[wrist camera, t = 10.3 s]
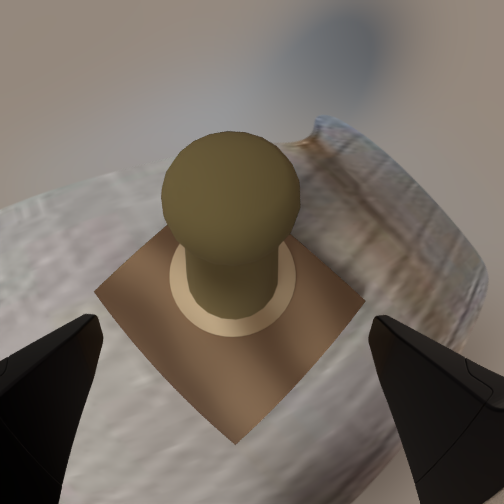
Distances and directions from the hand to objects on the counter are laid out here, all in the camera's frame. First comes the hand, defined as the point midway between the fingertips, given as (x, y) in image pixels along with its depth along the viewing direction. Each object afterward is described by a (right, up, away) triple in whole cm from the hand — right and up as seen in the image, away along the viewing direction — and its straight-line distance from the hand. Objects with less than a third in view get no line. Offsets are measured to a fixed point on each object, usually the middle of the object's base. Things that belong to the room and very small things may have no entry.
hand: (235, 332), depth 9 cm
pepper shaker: (-1, +1, +11) cm, 11 cm away
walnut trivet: (-1, -1, +12) cm, 12 cm away
